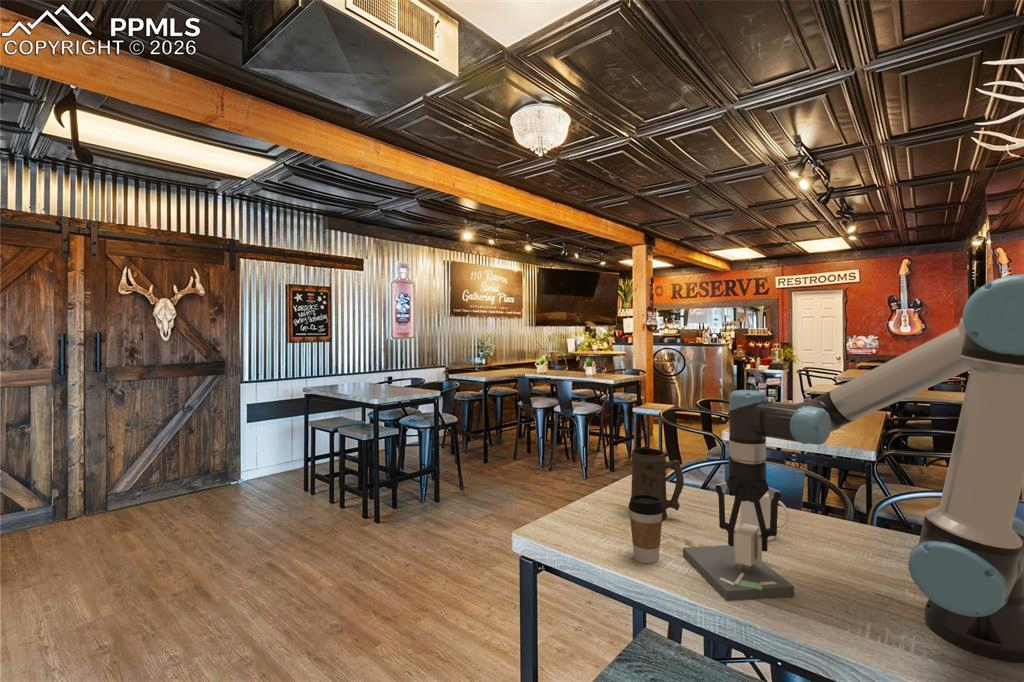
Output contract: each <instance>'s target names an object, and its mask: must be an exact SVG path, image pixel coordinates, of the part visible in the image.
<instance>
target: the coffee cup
mask: <svg viewBox="0 0 1024 682" xmlns="http://www.w3.org/2000/svg"><path fill="white" fill-rule="evenodd" d="M628 509H629V514H630V513H631V514H630V515H629V519H630V521H629V522H630V530H631V539H632V547H633V548H632V550H633V558H634V559H635V561H637V562H639V563H641V564H647V565H649V564H650V565H651V564H656V563H657V562H659V560H660V546H661V534H662V526H663V521H662V512H663V511H664V509H663V506H662V500H661V499H660V498H658V497H655V496H651V495H643V494H640V495H634V496H632V497H630V499H629V503H628Z"/></svg>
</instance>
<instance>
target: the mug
mask: <svg viewBox="0 0 1024 682" xmlns="http://www.w3.org/2000/svg"><path fill="white" fill-rule="evenodd" d="M760 504H761V509H762V513H763V517H764V521H765V525H766V529H767V528H770V509H771V498H770V497H769V493H768V492H766V493H765V495H764V496H763V497H762V498H761V499H760ZM779 505H780V507H782V508H783V510H784V511H785V514H786V518H785V520H784V521H783V522H781V523H777V529H780V528H783V527H784V526H785V525H786V524H787V523H788V521H789V515H790V514H789V510H788V509H787V507H786V505H785V504H784V503H783V502H782V501H780V500H779V502H778V506H779ZM744 523H745V524H750V525H754V526H758V527H759V522H758V518H757V514H756V510H755V506H754V503H753V502H749V501H741V505H740V524H739V525H740V527H741V526H742V525H743V524H744ZM740 527H739V528H740ZM759 533H761V531H760V527H759ZM775 537H776V536H769V537H768V539H767V542H769V541H773V540H774V539H775Z"/></svg>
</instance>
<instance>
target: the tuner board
mask: <svg viewBox="0 0 1024 682" xmlns="http://www.w3.org/2000/svg"><path fill="white" fill-rule="evenodd" d="M682 556H683V557H684V558H685V559H686V561H688V563H690V564H691V565H692V567H693V568H694V569H695V570H696V571H697V572H698V573H699V574H700V575H701V576H702V577H703V578H704V579H705V580H706V581H707V582H708V583H709V584H710V585H711V586H712V587H713V588H714V589H715V591H716V592H718V593H719V594H720V595H721V596H722V598H724V600H726V601H739V600H751V599H752V600H753V599H755V600H756V599H766V598H767V599H769V598H781V597H793V596H795V585H793V584H792V583H791V582H790V581H788V580H787V579H786V578H785V577H783V576H781V575H780V574H779V573H777V572H776V571H775V570H774V569H772V568H771V567H770V566H769V565H767V564H766V563H765V562H763V561H762V567H758V562H757V558H756V560H755V561H754V563H753V564H752V566H751V571H746V570H744V569H743V564H741V563H734V547H733V546H729V545H728V544H725V545H723V544H722V545H706V546H693V547H691V546H690V547H683V548H682ZM741 573H743V574H745V575H744V577H743V578H742V580H741V581H740V582H739V584H738V585H735V584H734V582H735V581H736V579H737V578H738V577H739V575H740V574H741Z"/></svg>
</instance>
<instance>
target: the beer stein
mask: <svg viewBox="0 0 1024 682" xmlns="http://www.w3.org/2000/svg"><path fill="white" fill-rule="evenodd" d="M630 457H631V462H632V463H631V470H632V471H631V497H632V496H634V495H640V494H643V495H651V496H655V497H658V498H660V499H661V500H662V506H663V509H664V511H663V512H662V522H663V521H665V520H666V519H667V518H668V517H667V516H668V515H667V509H674V510H675V511H679V509H680V503H679V497H680V495H681V493H682V491H683V488H684V482H685V481H684V479H685V477H684V473H683V471H682V468H681V461H680V460H679V459H673V460H672V461H671V460H669V461H667V457H666V455H665V452H664V451H663V450H661V449H656V448H649V447H637V448H633V449H632V452H631V455H630ZM668 469H672V470H673V471H674V473H675V477H676V478H675V487H674V491H673V494H672V496H671V498H670V499H669V500H668V499H667V481H666V480H667V479H666V478H667V477H666V476H667V475H666V471H667V470H668ZM631 497H630V498H631ZM629 514H630V515H631V513H630V512H629Z"/></svg>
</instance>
